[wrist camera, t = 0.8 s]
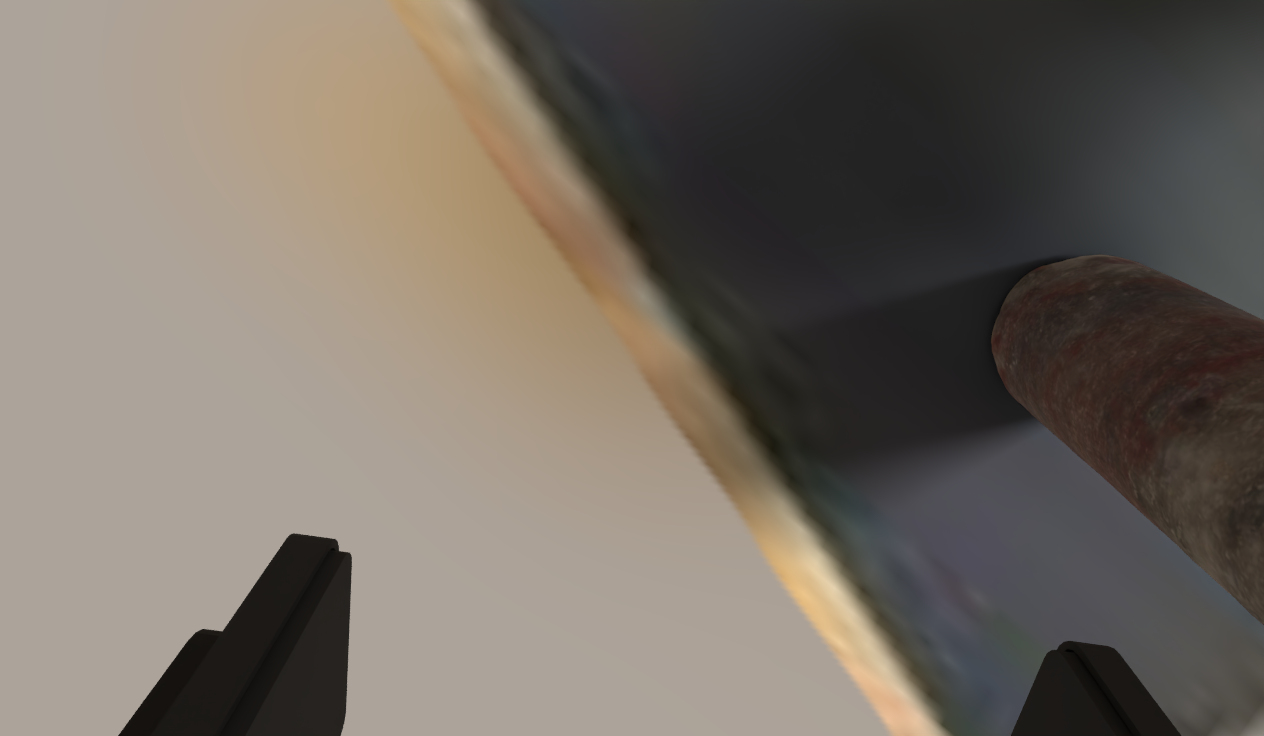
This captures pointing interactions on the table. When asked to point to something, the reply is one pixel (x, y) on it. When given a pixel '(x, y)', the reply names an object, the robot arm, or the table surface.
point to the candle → (1150, 400)
